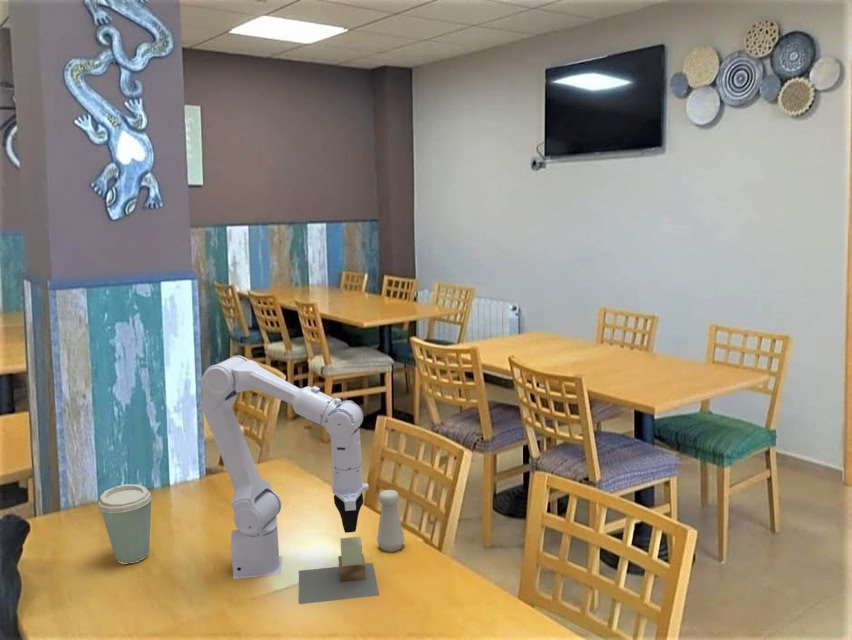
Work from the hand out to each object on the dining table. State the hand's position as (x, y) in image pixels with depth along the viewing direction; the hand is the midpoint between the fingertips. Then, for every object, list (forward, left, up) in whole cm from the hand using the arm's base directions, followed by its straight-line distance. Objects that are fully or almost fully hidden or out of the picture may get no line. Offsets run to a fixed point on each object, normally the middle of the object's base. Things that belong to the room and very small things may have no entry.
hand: (350, 530), depth 152 cm
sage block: (0, 0, -6) cm, 6 cm away
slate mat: (-3, -2, -10) cm, 11 cm away
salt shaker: (+9, +11, -10) cm, 17 cm away
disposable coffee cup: (-46, +19, -10) cm, 51 cm away
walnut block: (0, 0, -9) cm, 9 cm away
